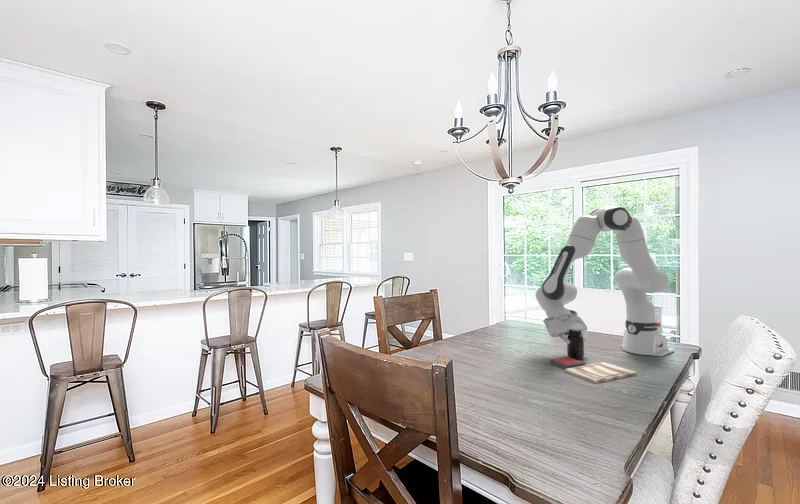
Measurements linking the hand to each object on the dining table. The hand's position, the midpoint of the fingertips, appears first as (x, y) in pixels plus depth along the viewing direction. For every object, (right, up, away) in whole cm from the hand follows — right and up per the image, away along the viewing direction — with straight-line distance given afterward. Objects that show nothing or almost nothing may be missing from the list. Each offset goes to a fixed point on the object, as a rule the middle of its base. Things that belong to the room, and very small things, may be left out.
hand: (576, 342), depth 163 cm
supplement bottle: (0, -7, +1) cm, 7 cm away
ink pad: (-8, -7, -9) cm, 14 cm away
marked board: (0, -7, -20) cm, 21 cm away
